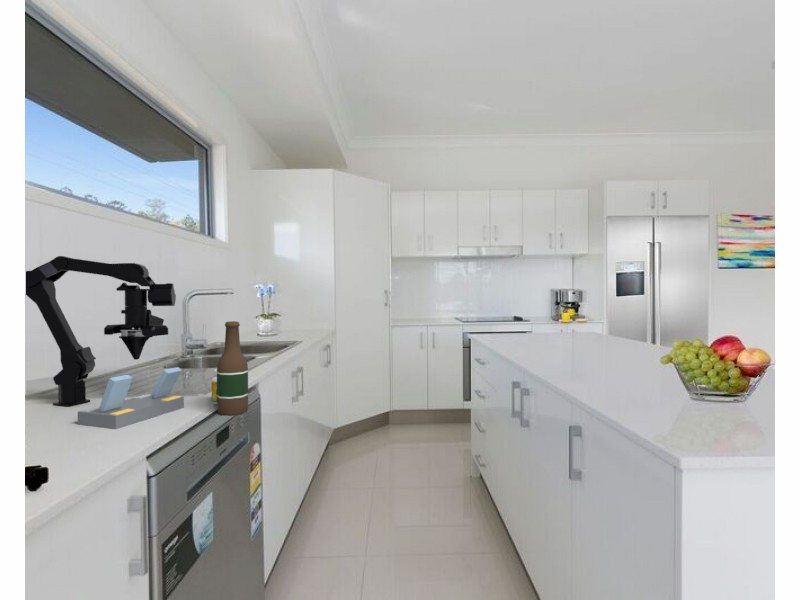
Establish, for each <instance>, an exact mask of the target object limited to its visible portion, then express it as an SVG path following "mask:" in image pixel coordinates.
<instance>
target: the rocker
mask: <svg viewBox="0 0 800 600" xmlns="http://www.w3.org/2000/svg"><path fill="white" fill-rule="evenodd" d="M182 371H183V370H182V369H181V368H180V367H178V366H177V367H170V368H165V369H163V370H162V372H161V374H160V376H159V378H158V381H157V382H156V384H155V385H154V388H153V390H152V392H151V393H150V394H151V395H152V398H157V397H161V396H164V395H170V394H171V392H172V390H173V389H174V387H175V385H176V383H177V381H178V380H179V378H180V376H181V374H182Z"/></svg>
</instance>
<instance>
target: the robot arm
mask: <svg viewBox="0 0 800 600" xmlns="http://www.w3.org/2000/svg"><path fill="white" fill-rule="evenodd" d="M25 271H26V294H25V295H26V297H28V298H29V299H30V300H31V301H32V302H34V304H36V306H37V307H38V310H39V311H40V314H41V315H42V318H43V319H44V321H45V324H46V325H47V327H48V329H49V332H50V333H51V334H52V337H53V339H54V340H55V343H56V345H57V347H58V348H59V352H60V354H59V355H60V364H61V367H62V369H61V370H60V371H59V372H58V373H56V374H55V375H54V376H53V377H52V379H53V382H54V384H55V385H57V387H58V388H57V389H58V390H57V391H58V394H57V397H58V398H57V399H58V400H57V401H56V402H52V405H54V406H63V407H72V406H75V405H79V404H80V405H81V404H85V403H89V402H91V399H88V398H87V396H86V395H87V394H86V393H87V392H86V388H87V387H86V381H85V380H86V379H88V376H89V373H92V371H94V369H95V366H96V362H95V360H96V359H97V357H95V356H94V355H93V353H92V349H91V347H90V346H86V347H83V346H82V345H81V344H80V343H79V342H78V339H77V337H76V336H75V334H74V332H73V330H72V328H71V326H70V324H69V323H68V320H67V318H66V316H65V314H64V313H63V310H62V308H61V306H60V305H59V303H58V301H57V298H56V297H57V296H56V291H57V290H56V285H55V282H56V281H58V280H60V279H61V278H62V277H63V276H64V275H65V274H67V273H68V272H69V271H71V272H77V273H84V274H92V275H100V276H107V277H110V278H111V277H112V278H114V279H117V280H120V281H123V282H122V283H121V284H120V285H119V286H118V287H117V288H115V289H116V291H119V292H124V309H121V310H120V312H121V314H122V315H123V314H124V323H123V324H122V323H117V324H106V325H105V327H104V329H103V333H104V334H103V335H105V336H106V335H107V336H113V335H114V334H120V335H118V339H121V340H122V342H123V344H124V345H125V346H126V348H127V350H128V351H129V353H130V355H131V356H132V359H133V360H139V359H140V357H141V355H142V352H143V350H144V347H145V345H146V343H147V341H148V340H149V339H150V338H153V337H157V336H167V335H169V327H168V326H167V325H165V324H164V322H165V319H164V318H161V317H159V316H156V315H153V314H152V310H151V309H148V303H149V304H151V305H152V307H174V306H175V305H176V302H177V301H176V298H177V295H176V293H175V292H176V291H175V288H174V286H175V285H174V283H171V282H169V283H156V282H155V281H154V280H153V279H152V277H151V276H150V272H149V269H148V268H147V267H146V266H145V265H143V264H141V263H135V262H129V263H128V262H127V263H126V262H122V263H121V262H118V263H108V262H100V261H93V260H87V259H80V258H72V257H69V256H63V255H61V256H60V255H58V256H56V257H54V258H53V259H51V260H49V261H47V262H45V263H43V264H41V265H38V267H35V268H33V269H31V270H25ZM127 283H131V284H127ZM132 284H135V285H132ZM140 286H141V287H147V288H141V287H140Z"/></svg>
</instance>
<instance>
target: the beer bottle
mask: <svg viewBox="0 0 800 600" xmlns="http://www.w3.org/2000/svg"><path fill="white" fill-rule="evenodd" d="M240 326H241V324H240V322H239V321H235V320H233V321H226V322H225V323H224V327H225V337H224V338H225V339H224V349H223V353H222V354H221V356H220V357H219V359H218V362H217V365H216V366H217V367H216V369H217V405H216V408H217V414H219V415H220V416H225V417H226V416H228V417H230V416H231V417H234V416H240V415H243V414H245V413H247V412H248V410H249V365H248V362H247V359H246V357H245V356H244V354H243V352H242V350H241V344H240V342H241V341H240Z"/></svg>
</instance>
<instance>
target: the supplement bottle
mask: <svg viewBox="0 0 800 600" xmlns="http://www.w3.org/2000/svg"><path fill="white" fill-rule="evenodd" d="M213 375H214V376H213V377H212V378H211V403H212V404H213V405H216V406H217V368H215V369H213Z"/></svg>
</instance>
